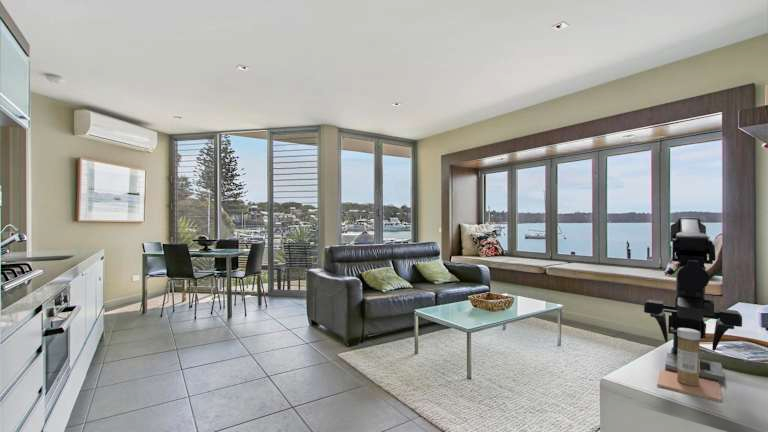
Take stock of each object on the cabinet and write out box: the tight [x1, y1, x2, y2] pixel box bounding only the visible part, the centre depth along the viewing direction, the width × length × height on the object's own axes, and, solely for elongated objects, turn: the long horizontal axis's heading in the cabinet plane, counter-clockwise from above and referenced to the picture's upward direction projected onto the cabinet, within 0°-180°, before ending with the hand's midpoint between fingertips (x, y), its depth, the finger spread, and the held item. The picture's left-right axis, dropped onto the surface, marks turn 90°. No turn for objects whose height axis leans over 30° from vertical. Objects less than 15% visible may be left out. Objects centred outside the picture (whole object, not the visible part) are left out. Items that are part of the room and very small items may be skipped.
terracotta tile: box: [657, 369, 723, 403], centre depth 94 cm, size 12×12×1 cm
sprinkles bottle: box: [677, 328, 702, 386], centre depth 94 cm, size 5×5×14 cm
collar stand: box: [664, 352, 725, 385], centre depth 103 cm, size 12×12×2 cm
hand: (689, 346), depth 94 cm, fingers open, 9 cm apart
